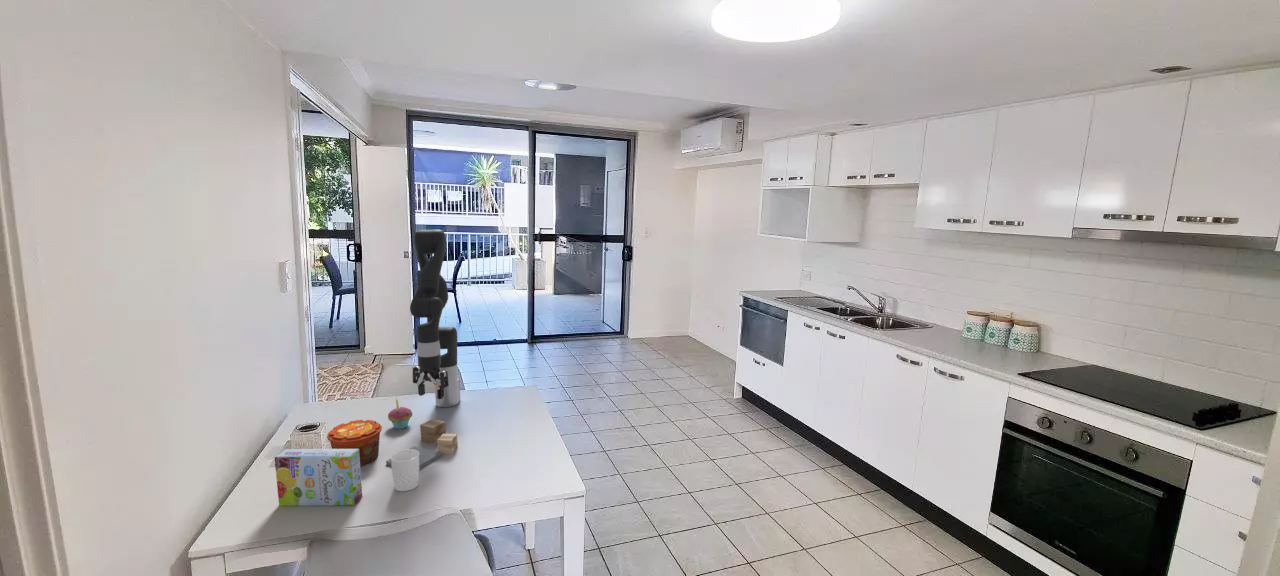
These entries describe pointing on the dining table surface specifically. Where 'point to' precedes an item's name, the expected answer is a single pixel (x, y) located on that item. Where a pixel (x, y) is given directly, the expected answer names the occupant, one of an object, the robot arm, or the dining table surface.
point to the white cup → (405, 469)
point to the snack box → (318, 477)
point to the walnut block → (432, 430)
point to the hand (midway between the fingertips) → (431, 396)
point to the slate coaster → (423, 456)
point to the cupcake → (400, 416)
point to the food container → (357, 438)
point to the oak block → (447, 443)
